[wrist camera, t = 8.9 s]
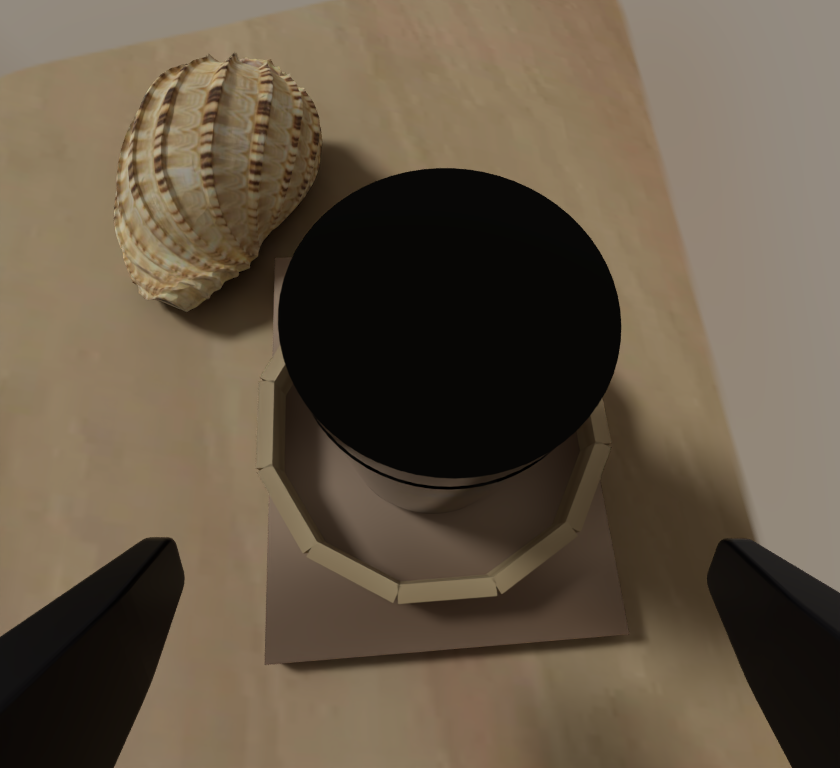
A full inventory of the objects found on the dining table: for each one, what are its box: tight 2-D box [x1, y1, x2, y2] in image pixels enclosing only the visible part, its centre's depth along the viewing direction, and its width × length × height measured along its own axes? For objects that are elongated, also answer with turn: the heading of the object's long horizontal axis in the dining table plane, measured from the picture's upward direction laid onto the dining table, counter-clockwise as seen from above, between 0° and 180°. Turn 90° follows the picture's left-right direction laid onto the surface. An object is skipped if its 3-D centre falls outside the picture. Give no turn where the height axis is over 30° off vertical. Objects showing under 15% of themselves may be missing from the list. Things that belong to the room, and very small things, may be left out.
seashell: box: [114, 52, 322, 312], centre depth 19 cm, size 8×6×10 cm
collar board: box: [256, 257, 629, 665], centre depth 17 cm, size 14×11×2 cm
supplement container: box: [278, 168, 621, 514], centre depth 13 cm, size 6×6×9 cm
